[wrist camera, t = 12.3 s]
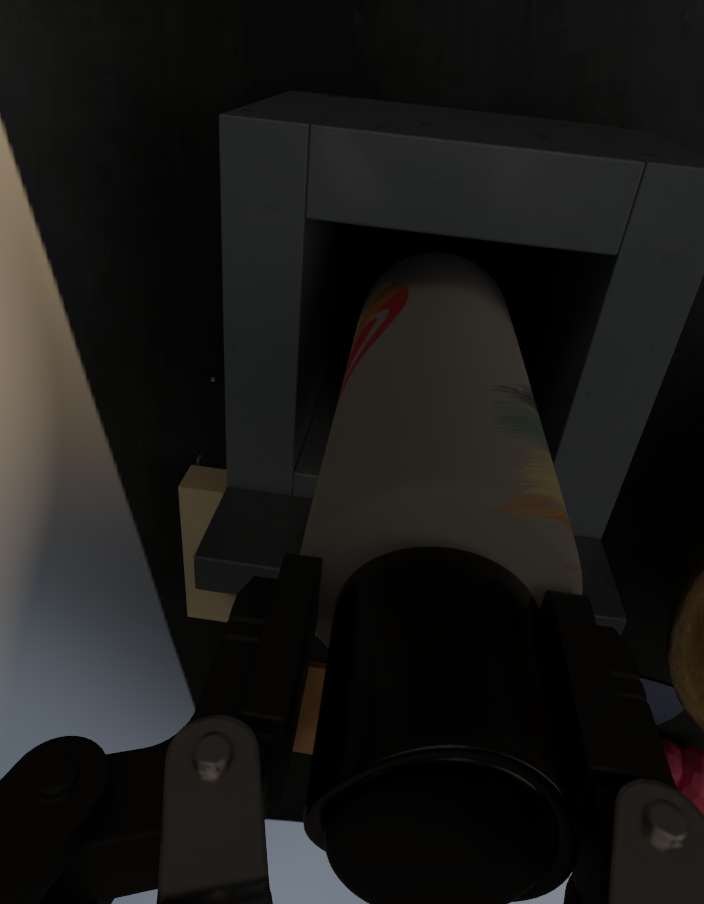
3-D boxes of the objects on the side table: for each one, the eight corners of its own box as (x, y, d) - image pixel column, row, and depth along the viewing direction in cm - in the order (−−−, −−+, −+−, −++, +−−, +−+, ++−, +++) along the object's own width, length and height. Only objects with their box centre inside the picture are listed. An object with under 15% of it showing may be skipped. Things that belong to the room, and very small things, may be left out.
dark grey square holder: (280, 397, 34) (194, 590, 22) (290, 90, 26) (165, 131, 14) (551, 433, 33) (613, 652, 21) (643, 128, 25) (820, 205, 13)
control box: (198, 591, 42) (177, 639, 39) (191, 464, 36) (165, 507, 33) (381, 618, 41) (376, 669, 38) (402, 493, 36) (398, 540, 33)
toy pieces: (736, 683, 41) (765, 747, 37) (682, 783, 47) (703, 847, 43) (542, 662, 42) (552, 723, 38) (514, 763, 48) (520, 823, 44)
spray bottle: (337, 348, 26) (174, 886, 10) (404, 220, 23) (340, 674, 7) (457, 408, 27) (501, 996, 11) (537, 292, 24) (774, 853, 8)
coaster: (231, 734, 50) (229, 741, 49) (229, 647, 45) (227, 654, 44) (359, 755, 49) (359, 762, 49) (373, 669, 44) (373, 677, 44)
